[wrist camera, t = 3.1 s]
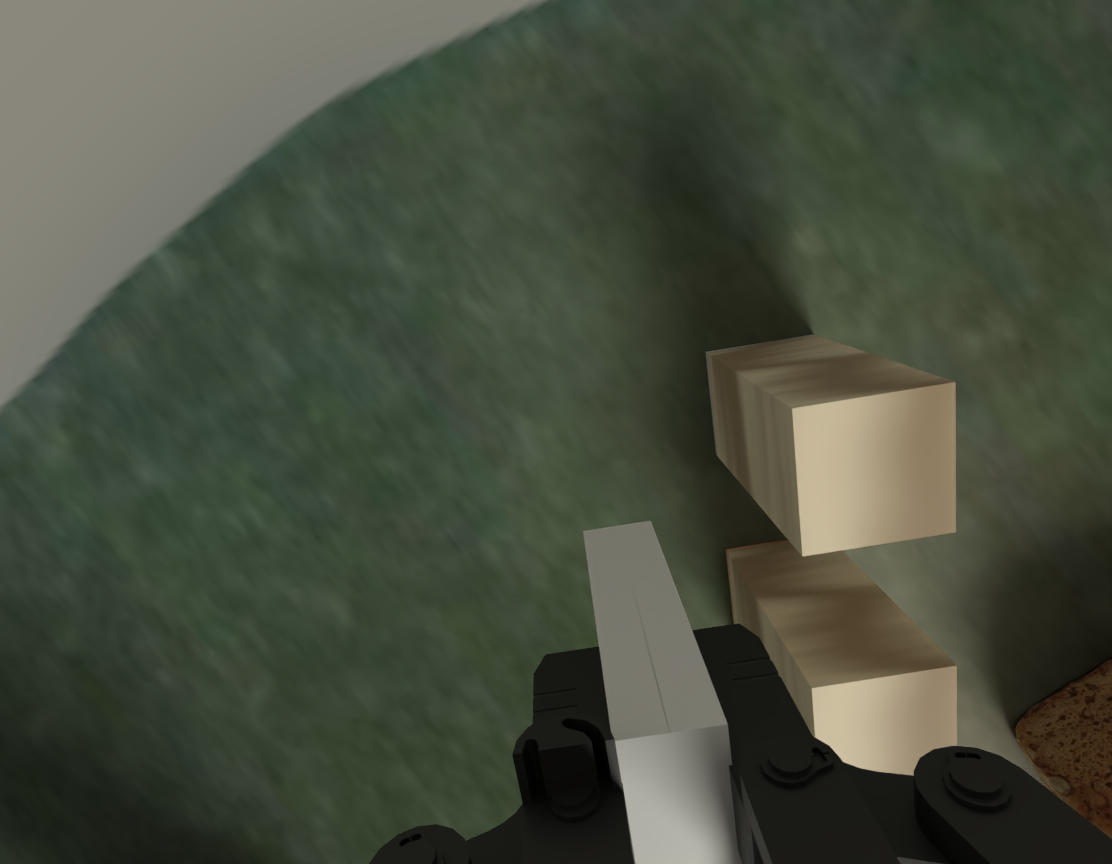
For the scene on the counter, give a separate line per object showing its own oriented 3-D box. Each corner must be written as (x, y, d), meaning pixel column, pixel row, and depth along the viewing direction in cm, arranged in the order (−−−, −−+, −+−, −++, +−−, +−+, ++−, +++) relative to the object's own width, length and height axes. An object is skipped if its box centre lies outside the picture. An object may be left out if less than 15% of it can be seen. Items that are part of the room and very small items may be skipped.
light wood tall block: (734, 636, 32) (819, 805, 23) (725, 549, 31) (811, 688, 21) (830, 621, 32) (957, 784, 23) (825, 533, 31) (956, 665, 21)
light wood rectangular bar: (715, 454, 30) (802, 556, 20) (705, 352, 29) (791, 408, 19) (819, 437, 30) (956, 532, 20) (813, 334, 29) (955, 381, 19)
